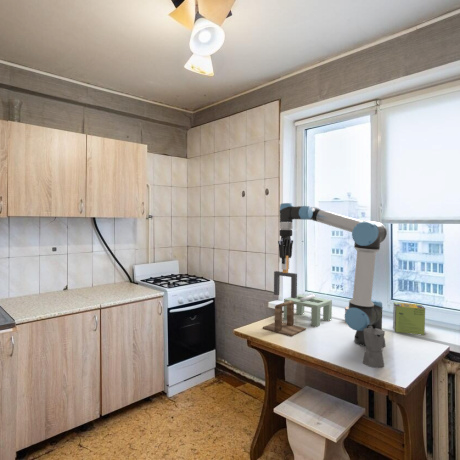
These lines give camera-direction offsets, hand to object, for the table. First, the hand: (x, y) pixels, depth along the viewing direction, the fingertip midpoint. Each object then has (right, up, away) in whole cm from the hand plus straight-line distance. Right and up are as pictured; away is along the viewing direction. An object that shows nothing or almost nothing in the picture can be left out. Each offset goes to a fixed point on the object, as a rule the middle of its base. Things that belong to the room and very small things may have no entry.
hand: (285, 269), depth 196 cm
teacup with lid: (+47, -36, +16) cm, 61 cm away
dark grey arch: (0, -4, 0) cm, 4 cm away
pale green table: (+18, -36, +22) cm, 46 cm away
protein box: (+73, -37, +1) cm, 82 cm away
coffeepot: (+32, -38, -45) cm, 67 cm away
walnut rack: (-1, -36, +1) cm, 36 cm away
